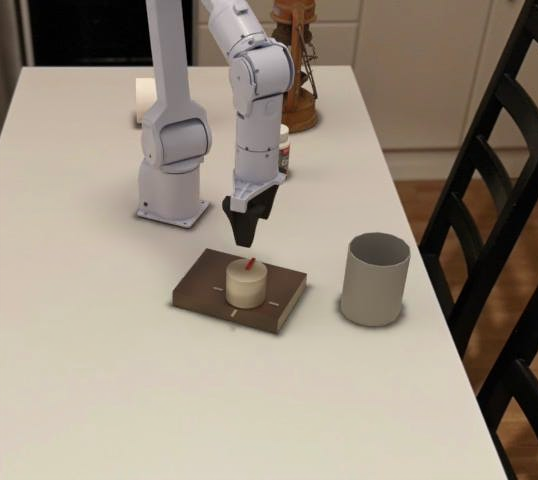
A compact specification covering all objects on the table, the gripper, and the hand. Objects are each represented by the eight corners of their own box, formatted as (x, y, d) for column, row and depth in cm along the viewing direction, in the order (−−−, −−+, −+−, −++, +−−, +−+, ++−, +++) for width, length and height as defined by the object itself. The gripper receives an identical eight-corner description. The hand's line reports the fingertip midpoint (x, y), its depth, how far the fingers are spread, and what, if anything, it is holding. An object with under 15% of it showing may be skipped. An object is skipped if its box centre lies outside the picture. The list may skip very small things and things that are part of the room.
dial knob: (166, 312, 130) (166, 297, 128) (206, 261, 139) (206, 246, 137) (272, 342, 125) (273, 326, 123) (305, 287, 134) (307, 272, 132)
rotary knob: (257, 312, 126) (258, 284, 122) (219, 302, 127) (220, 274, 124) (271, 290, 129) (273, 262, 126) (234, 281, 131) (235, 253, 128)
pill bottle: (285, 182, 156) (289, 136, 150) (258, 179, 157) (260, 134, 151) (289, 168, 159) (292, 123, 154) (262, 166, 160) (265, 121, 154)
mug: (190, 130, 170) (190, 88, 164) (137, 131, 170) (135, 89, 164) (189, 101, 179) (188, 61, 173) (137, 102, 178) (136, 61, 173)
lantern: (244, 98, 179) (251, -68, 159) (310, 96, 180) (325, -70, 159) (255, 139, 167) (264, -35, 146) (325, 136, 168) (344, -37, 147)
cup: (404, 297, 132) (415, 238, 125) (394, 331, 127) (405, 271, 120) (346, 286, 134) (355, 227, 127) (334, 319, 129) (342, 259, 122)
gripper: (269, 173, 113) (263, 265, 122) (303, 122, 123) (294, 210, 132) (216, 163, 115) (214, 254, 124) (253, 113, 124) (248, 201, 134)
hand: (252, 231), depth 128 cm, fingers open, 7 cm apart
